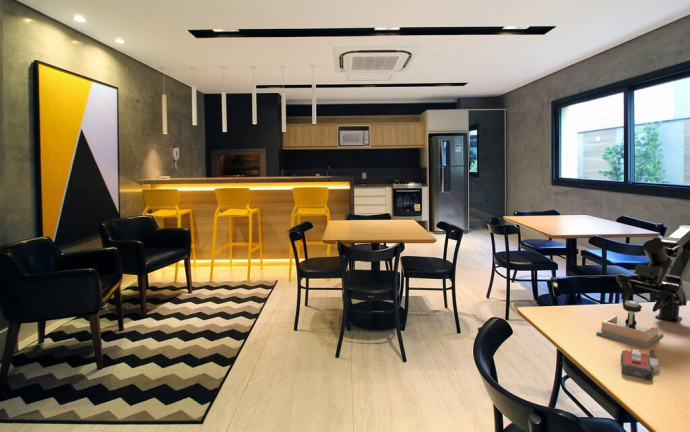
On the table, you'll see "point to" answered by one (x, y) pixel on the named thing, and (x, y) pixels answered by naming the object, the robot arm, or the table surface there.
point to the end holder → (629, 333)
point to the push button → (631, 313)
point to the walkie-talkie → (639, 364)
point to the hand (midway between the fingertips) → (637, 307)
